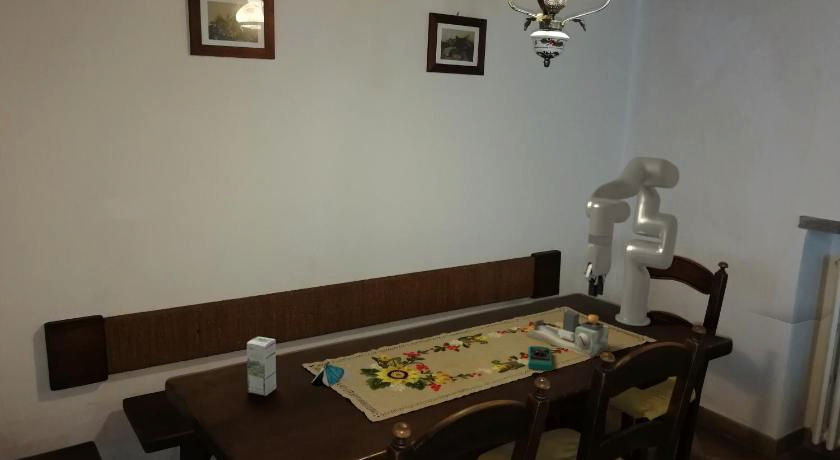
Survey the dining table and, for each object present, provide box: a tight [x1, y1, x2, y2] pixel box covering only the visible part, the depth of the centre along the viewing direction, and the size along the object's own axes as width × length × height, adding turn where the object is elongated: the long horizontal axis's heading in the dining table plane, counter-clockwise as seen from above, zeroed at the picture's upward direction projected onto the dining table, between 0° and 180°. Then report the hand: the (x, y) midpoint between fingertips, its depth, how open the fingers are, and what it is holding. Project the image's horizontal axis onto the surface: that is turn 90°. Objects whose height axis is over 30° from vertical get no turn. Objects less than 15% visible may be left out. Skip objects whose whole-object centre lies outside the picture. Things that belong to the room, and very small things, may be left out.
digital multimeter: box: [527, 345, 553, 372], centre depth 206 cm, size 7×15×3 cm, turn 171°
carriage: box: [558, 310, 580, 341], centre depth 222 cm, size 7×5×9 cm
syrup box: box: [246, 336, 277, 397], centre depth 177 cm, size 6×6×14 cm
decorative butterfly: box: [311, 358, 352, 387], centre depth 187 cm, size 10×6×10 cm
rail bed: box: [526, 318, 610, 358], centre depth 223 cm, size 12×25×9 cm, turn 44°
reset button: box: [587, 314, 599, 324], centre depth 215 cm, size 3×3×2 cm
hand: (595, 294), depth 214 cm, fingers open, 2 cm apart
